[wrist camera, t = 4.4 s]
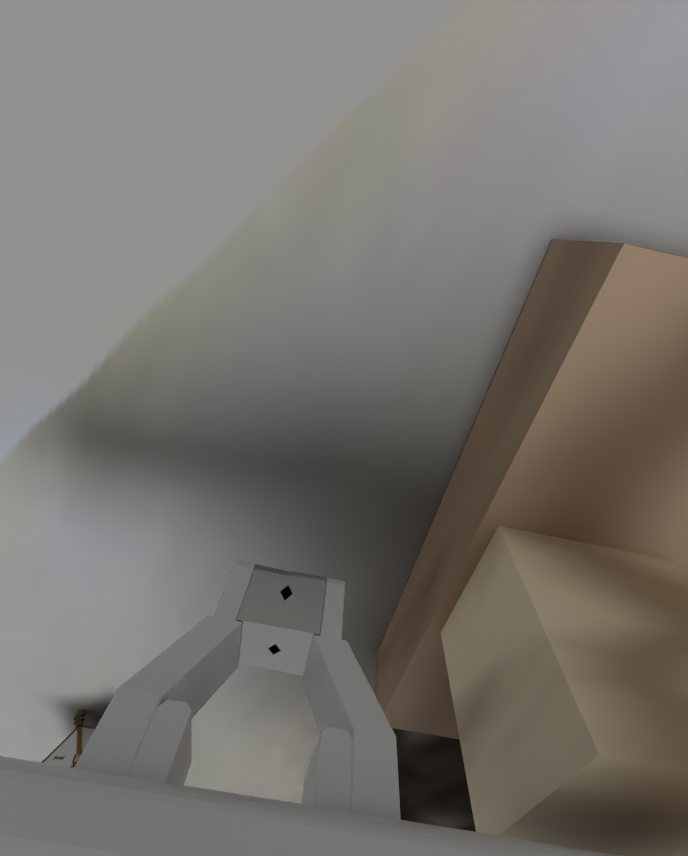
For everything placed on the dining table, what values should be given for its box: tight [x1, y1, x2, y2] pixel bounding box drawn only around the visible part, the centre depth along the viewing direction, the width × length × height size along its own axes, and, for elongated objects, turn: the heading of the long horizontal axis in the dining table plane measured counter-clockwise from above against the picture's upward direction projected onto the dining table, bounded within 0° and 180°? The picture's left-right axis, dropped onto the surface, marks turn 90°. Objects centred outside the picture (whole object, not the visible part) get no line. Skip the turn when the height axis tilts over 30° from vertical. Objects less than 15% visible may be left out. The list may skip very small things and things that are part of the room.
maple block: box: [441, 526, 688, 856], centre depth 9 cm, size 5×5×5 cm
